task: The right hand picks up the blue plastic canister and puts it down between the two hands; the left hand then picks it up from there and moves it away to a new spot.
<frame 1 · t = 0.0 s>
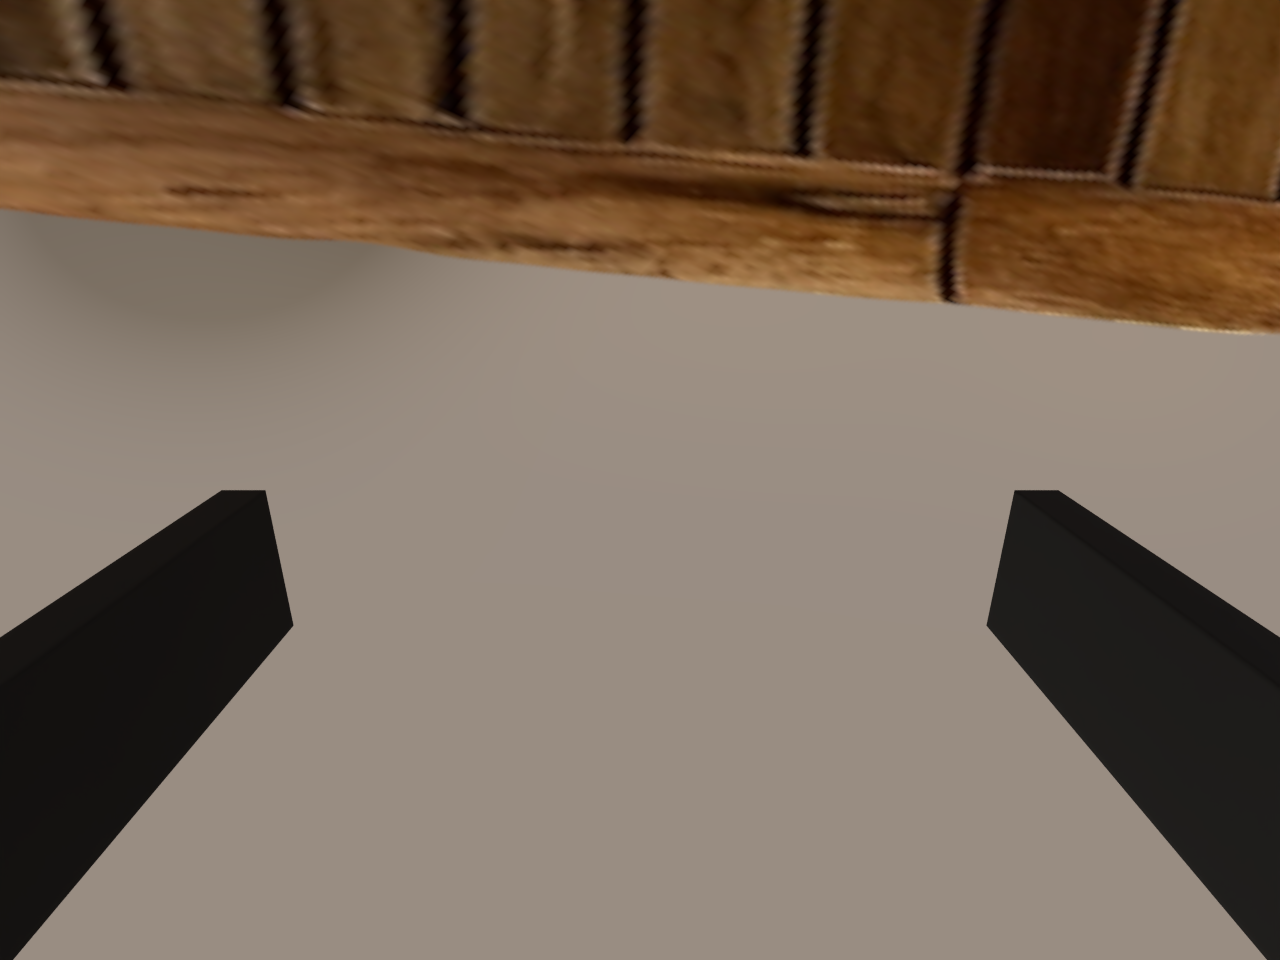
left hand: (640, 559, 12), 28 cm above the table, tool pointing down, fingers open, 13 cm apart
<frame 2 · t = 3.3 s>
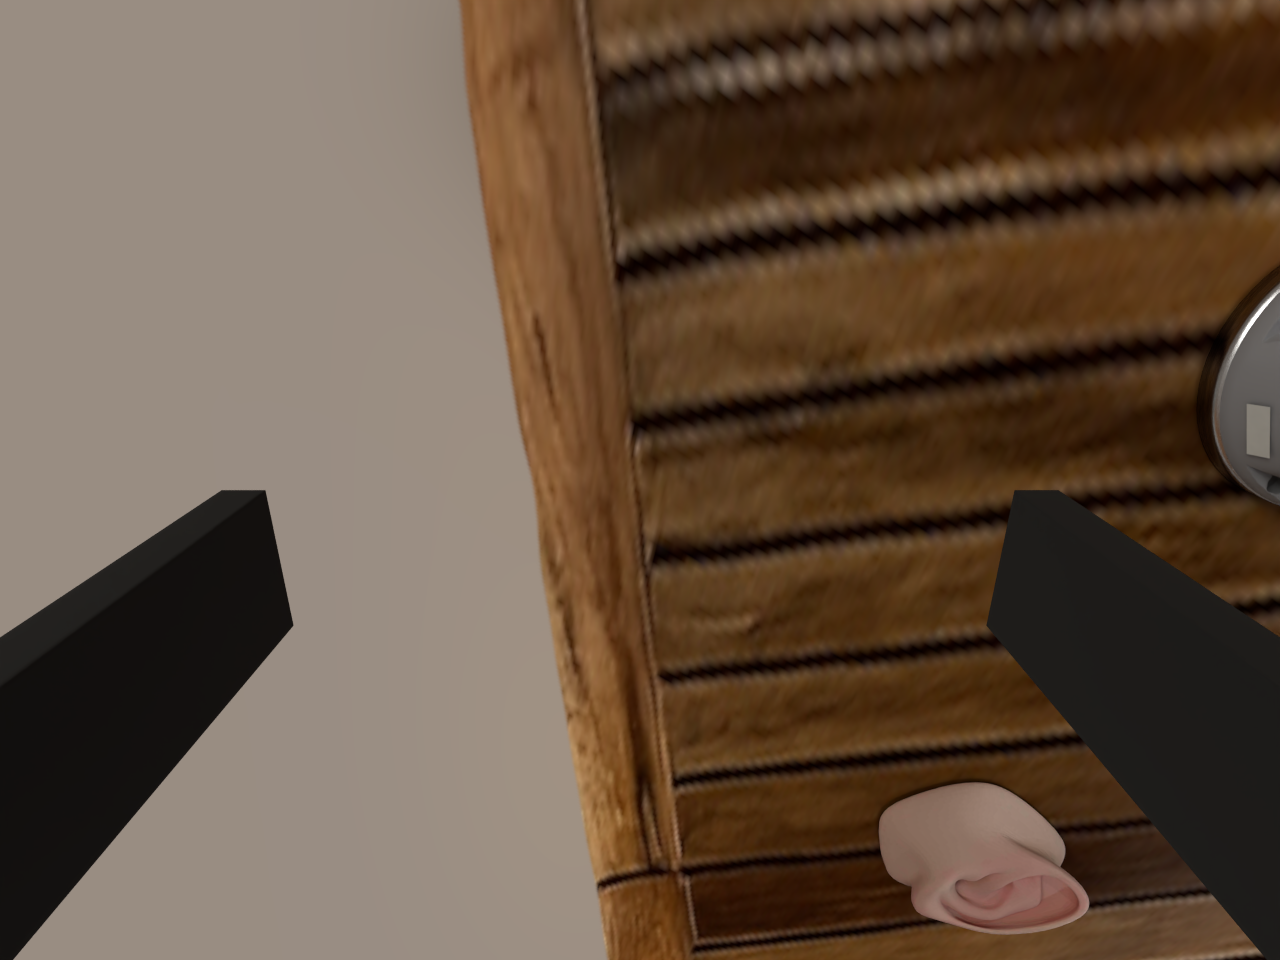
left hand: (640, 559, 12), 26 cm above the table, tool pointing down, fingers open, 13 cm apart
anatomical model: (964, 842, 50), on the table
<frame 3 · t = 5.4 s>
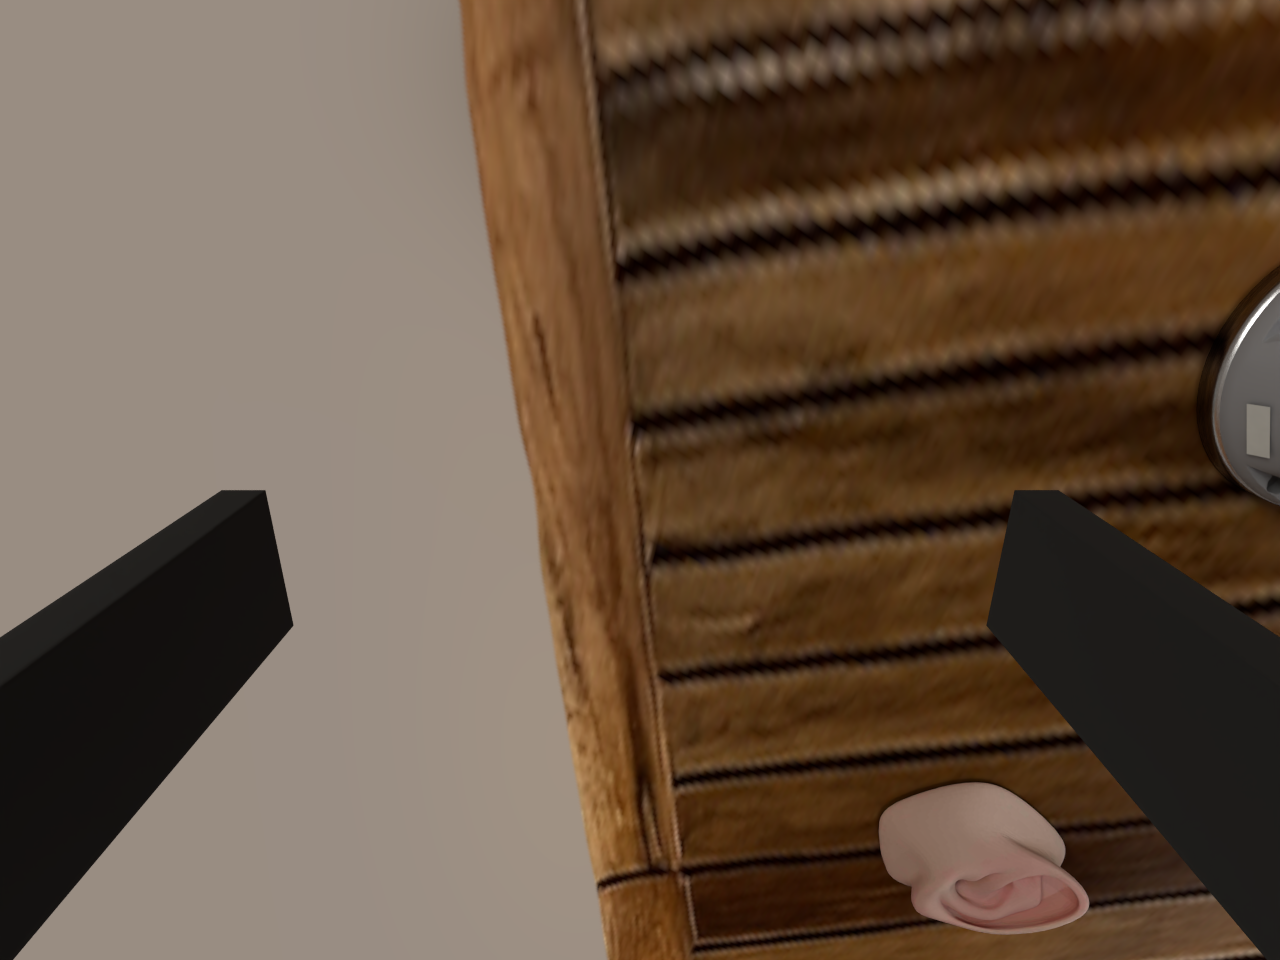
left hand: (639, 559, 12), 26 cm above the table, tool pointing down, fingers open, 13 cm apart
anatomical model: (964, 842, 50), on the table
when the right hand's fingers open (7 cm above the table, at t = 7.6 s): canister drops 2 cm, on the table.
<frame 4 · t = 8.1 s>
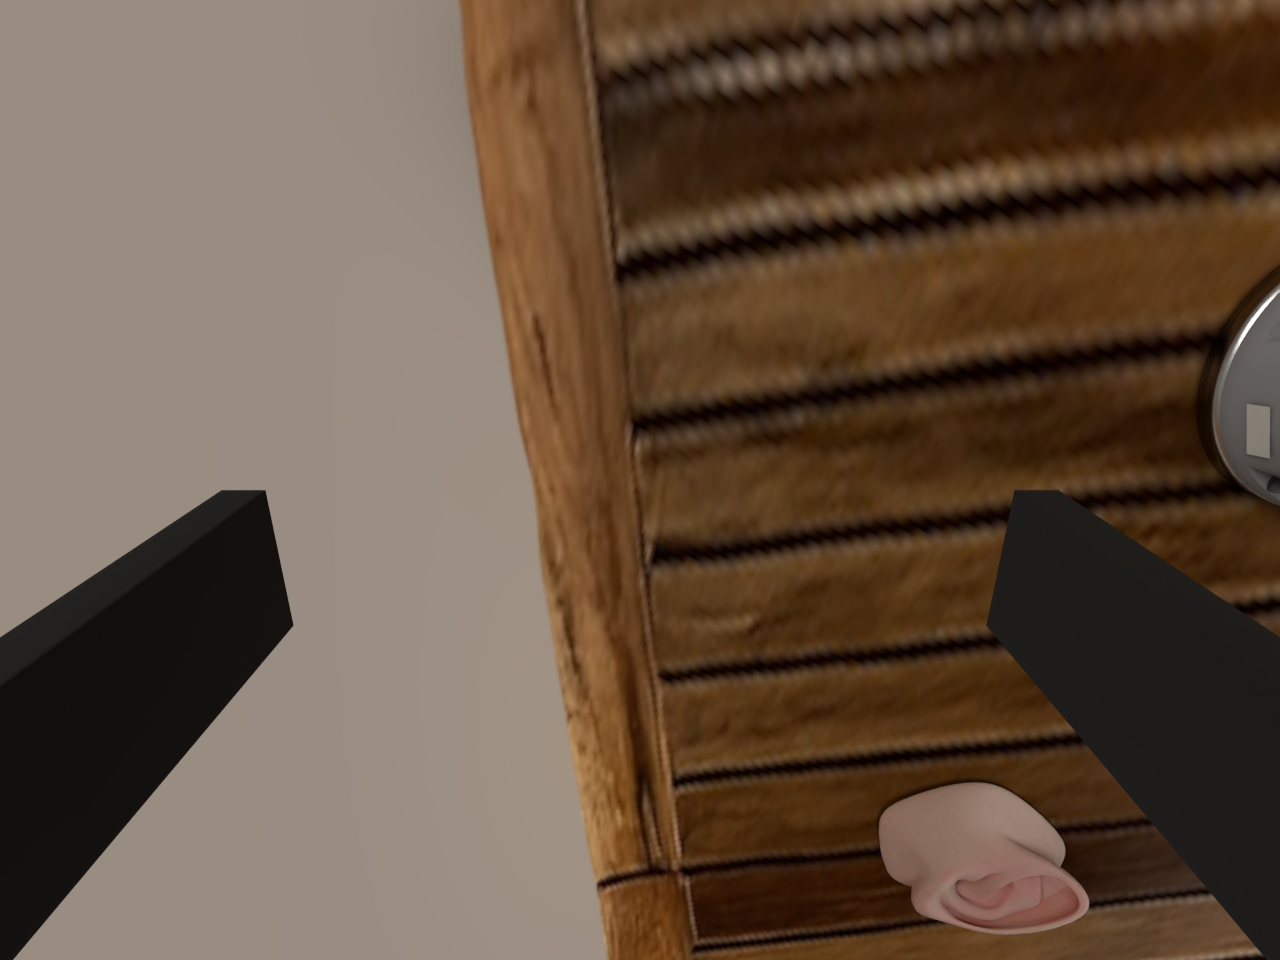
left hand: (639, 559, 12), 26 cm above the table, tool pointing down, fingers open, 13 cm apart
anatomical model: (964, 842, 50), on the table
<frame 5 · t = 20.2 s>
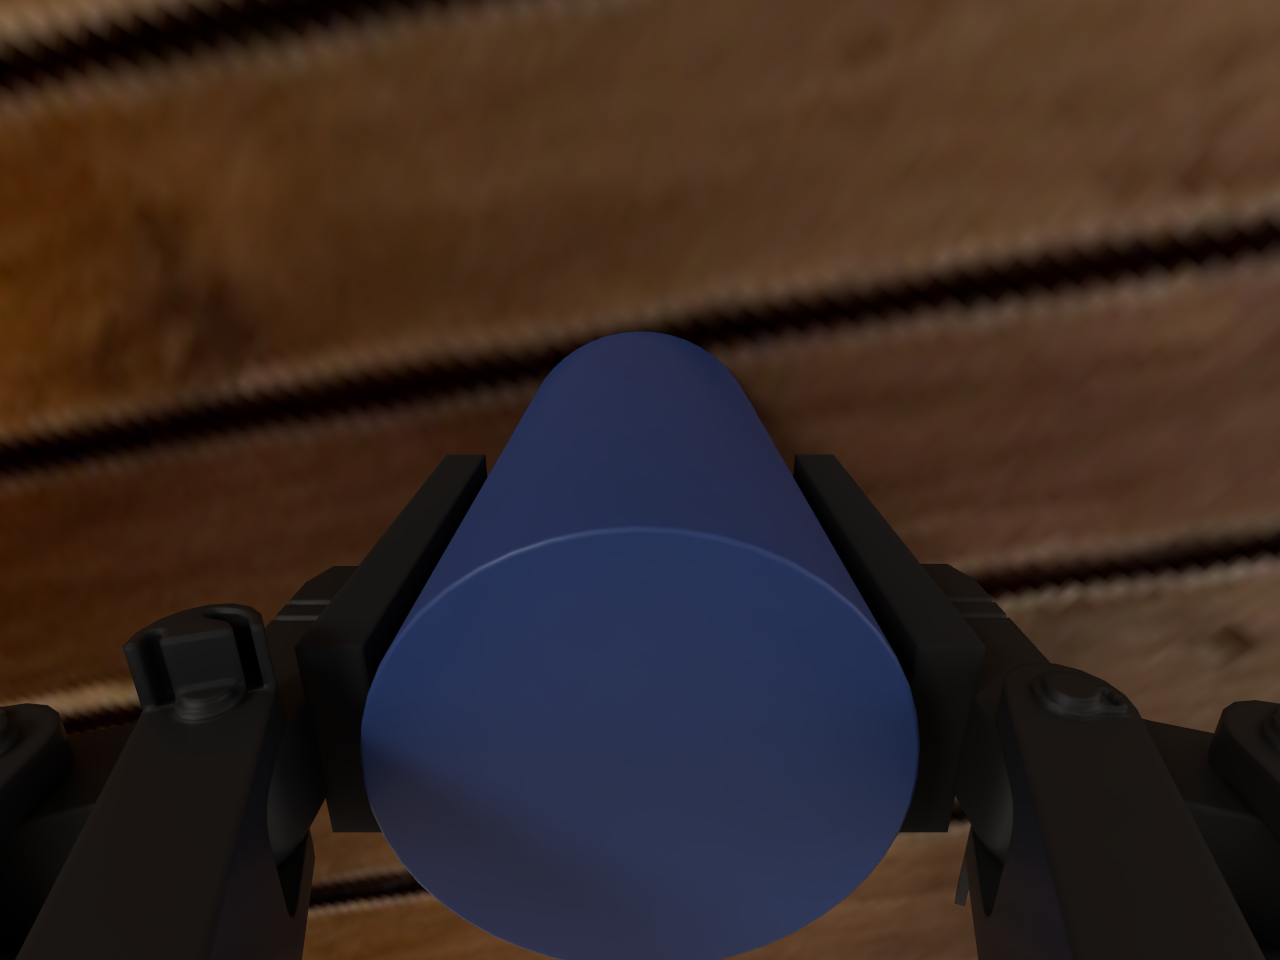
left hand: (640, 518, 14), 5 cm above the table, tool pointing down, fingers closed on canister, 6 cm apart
canister: (640, 447, 18), on the table, touching left hand
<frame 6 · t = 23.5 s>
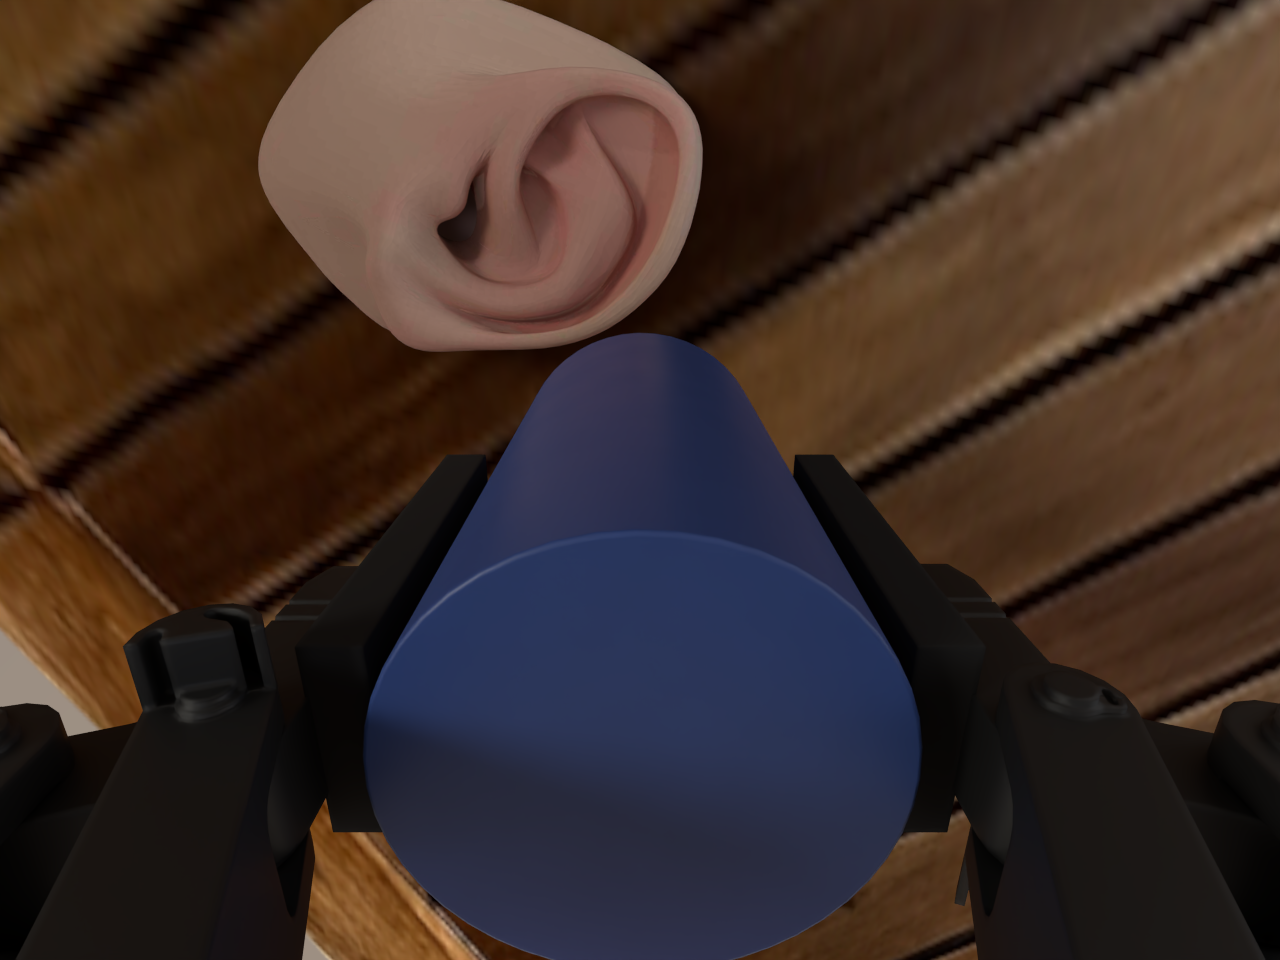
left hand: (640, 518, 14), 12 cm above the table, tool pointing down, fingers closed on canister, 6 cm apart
anatomical model: (480, 188, 23), on the table
canister: (641, 449, 18), point 8 cm above the table, touching left hand
when the left hand's fingers open (7 cm above the table, at t = 27.0 s): canister drops 2 cm, on the table.
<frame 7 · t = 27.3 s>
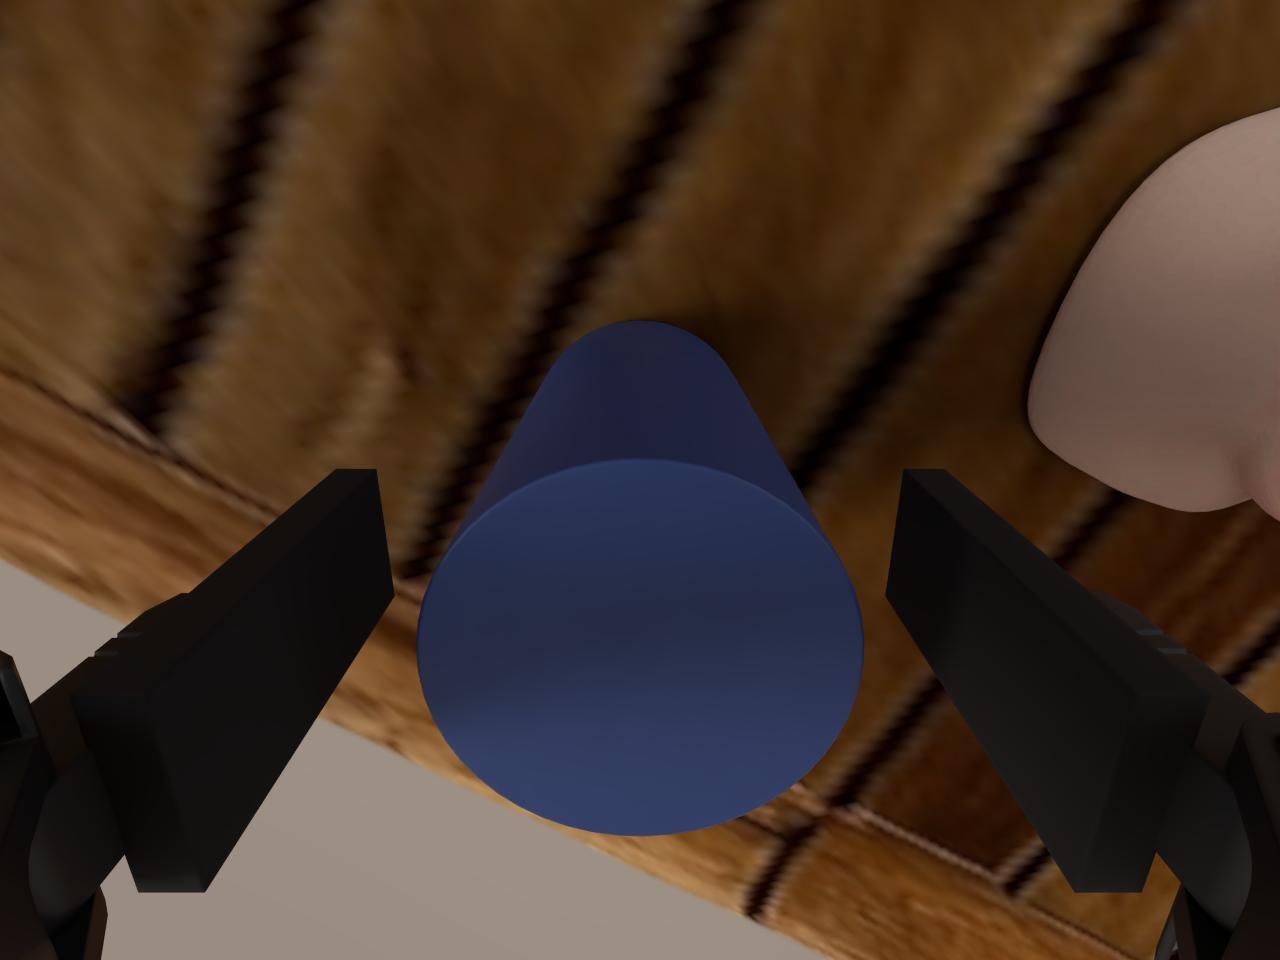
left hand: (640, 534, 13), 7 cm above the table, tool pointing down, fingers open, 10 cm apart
anatomical model: (1278, 315, 19), on the table
canister: (640, 426, 20), on the table
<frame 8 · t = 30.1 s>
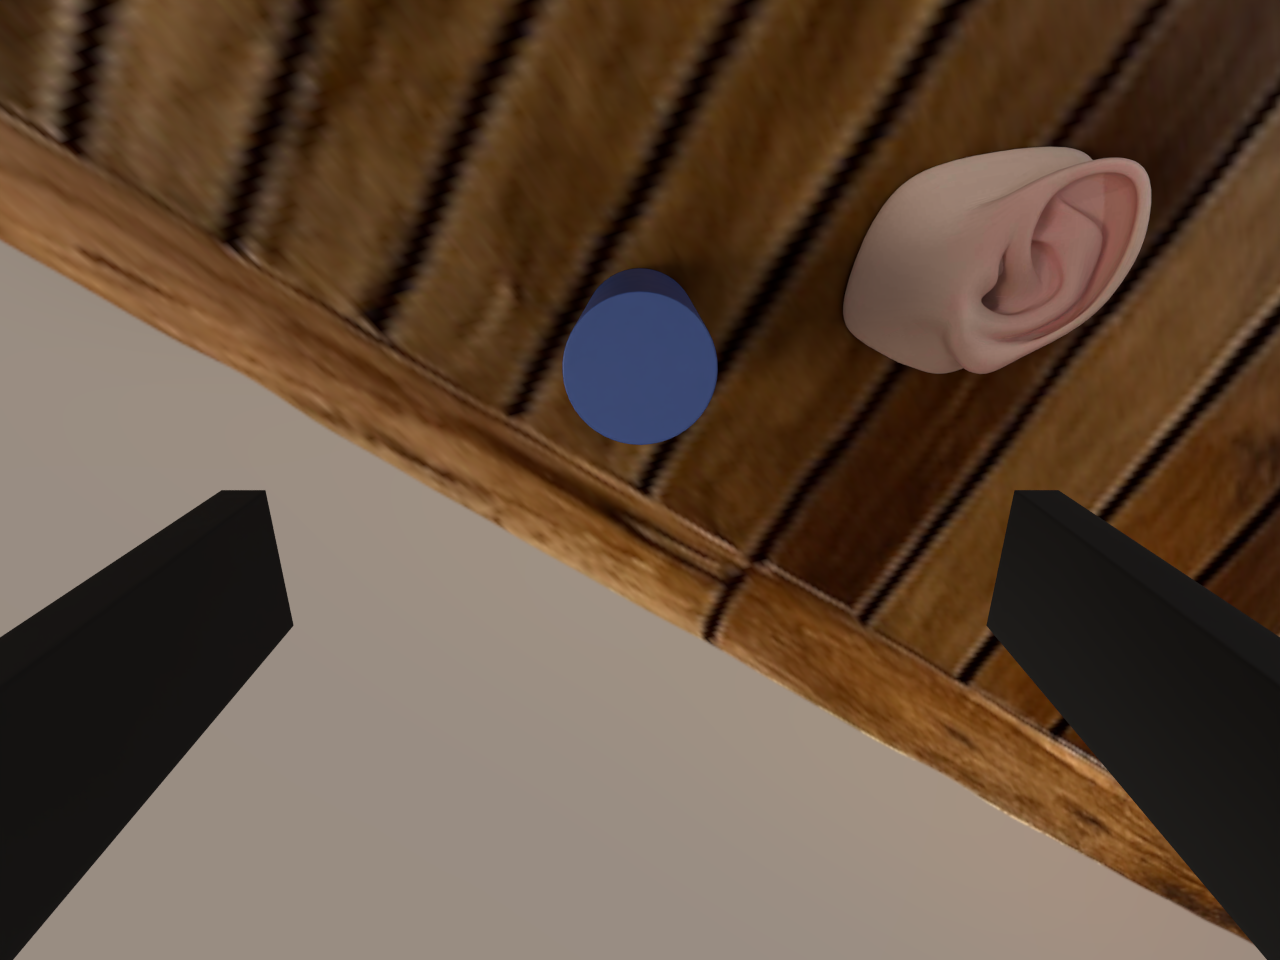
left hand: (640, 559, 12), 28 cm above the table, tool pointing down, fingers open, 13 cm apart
anatomical model: (970, 265, 37), on the table
canister: (640, 326, 38), on the table
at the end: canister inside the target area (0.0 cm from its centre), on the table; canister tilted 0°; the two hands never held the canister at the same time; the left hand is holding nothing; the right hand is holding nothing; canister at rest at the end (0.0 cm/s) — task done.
